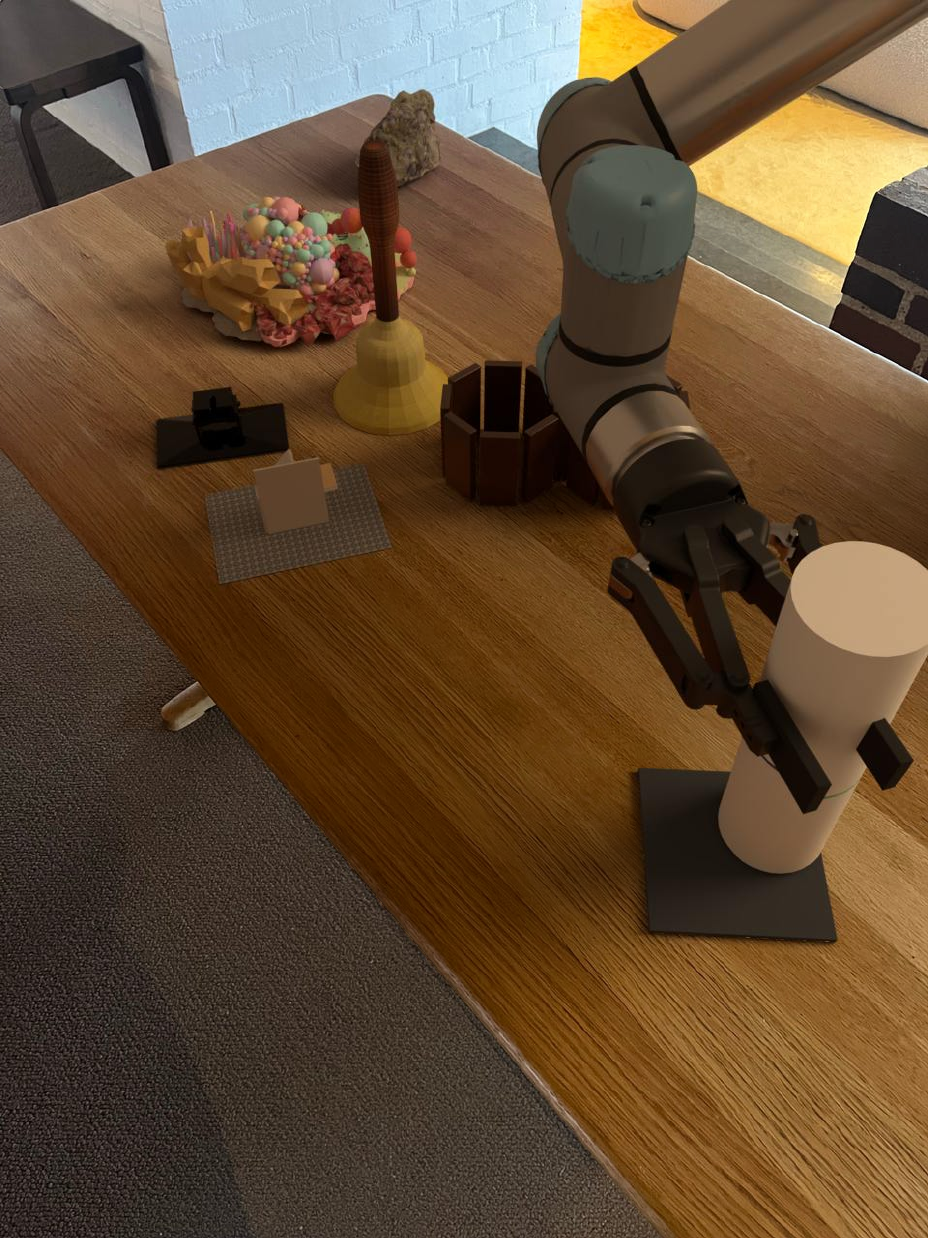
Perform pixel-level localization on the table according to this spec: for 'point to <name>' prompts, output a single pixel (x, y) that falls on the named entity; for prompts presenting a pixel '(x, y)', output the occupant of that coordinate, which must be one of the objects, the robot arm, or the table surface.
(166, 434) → the build plate
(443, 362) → the table surface
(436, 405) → the handbell
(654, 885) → the mat
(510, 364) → the holder
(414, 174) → the mineral rock
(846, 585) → the cylindrical container
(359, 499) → the architectural model
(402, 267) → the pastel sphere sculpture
